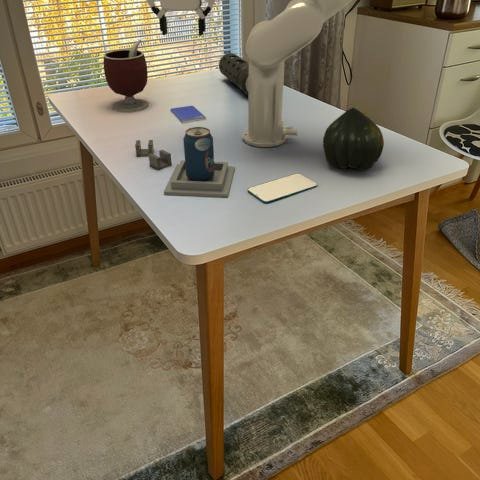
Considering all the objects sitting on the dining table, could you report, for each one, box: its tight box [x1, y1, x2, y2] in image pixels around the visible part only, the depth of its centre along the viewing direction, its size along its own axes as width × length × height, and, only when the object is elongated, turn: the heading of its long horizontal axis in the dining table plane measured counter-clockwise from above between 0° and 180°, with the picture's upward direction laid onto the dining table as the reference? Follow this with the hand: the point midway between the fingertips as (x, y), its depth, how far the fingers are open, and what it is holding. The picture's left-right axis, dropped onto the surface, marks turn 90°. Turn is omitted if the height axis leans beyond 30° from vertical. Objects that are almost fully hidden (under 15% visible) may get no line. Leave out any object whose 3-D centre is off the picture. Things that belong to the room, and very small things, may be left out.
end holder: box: [163, 159, 236, 198], centre depth 118 cm, size 15×15×3 cm
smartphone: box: [247, 173, 318, 205], centre depth 115 cm, size 8×1×16 cm
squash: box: [322, 106, 385, 171], centre depth 123 cm, size 14×15×15 cm
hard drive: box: [169, 105, 207, 125], centre depth 157 cm, size 2×8×12 cm
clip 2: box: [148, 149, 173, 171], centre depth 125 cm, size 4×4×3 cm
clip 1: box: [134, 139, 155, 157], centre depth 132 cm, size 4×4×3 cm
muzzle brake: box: [218, 52, 249, 96], centre depth 178 cm, size 10×28×10 cm, turn 21°
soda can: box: [182, 126, 215, 182], centre depth 115 cm, size 7×7×12 cm
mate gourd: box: [102, 39, 150, 113], centre depth 160 cm, size 16×14×20 cm
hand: (183, 34), depth 126 cm, fingers open, 9 cm apart
